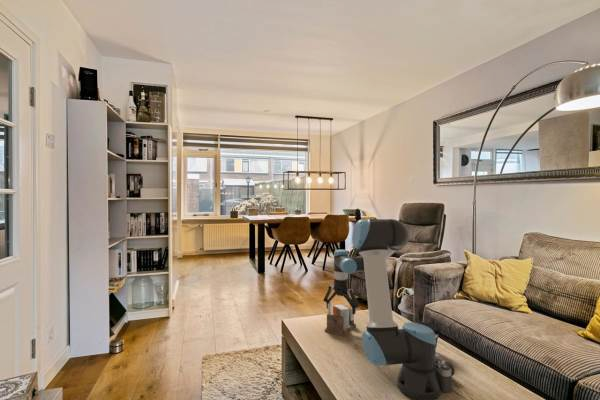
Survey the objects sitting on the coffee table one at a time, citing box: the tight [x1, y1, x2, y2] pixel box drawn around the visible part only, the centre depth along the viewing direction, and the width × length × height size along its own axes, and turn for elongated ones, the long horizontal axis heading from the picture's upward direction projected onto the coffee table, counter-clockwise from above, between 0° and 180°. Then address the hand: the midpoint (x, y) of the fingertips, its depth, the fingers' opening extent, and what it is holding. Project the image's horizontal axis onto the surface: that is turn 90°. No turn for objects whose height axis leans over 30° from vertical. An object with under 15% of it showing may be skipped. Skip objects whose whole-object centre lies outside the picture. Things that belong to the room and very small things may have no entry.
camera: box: [435, 353, 455, 394], centre depth 125 cm, size 16×10×10 cm, turn 13°
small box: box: [332, 304, 349, 329], centre depth 173 cm, size 8×6×10 cm
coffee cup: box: [417, 322, 441, 347], centre depth 147 cm, size 11×11×12 cm
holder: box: [324, 307, 357, 337], centre depth 173 cm, size 18×11×9 cm, turn 147°
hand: (340, 317), depth 173 cm, fingers open, 13 cm apart
